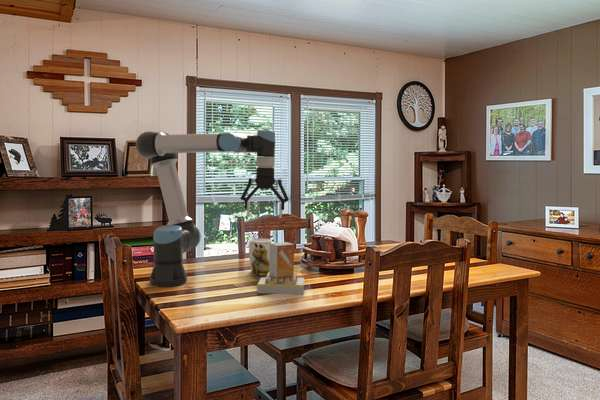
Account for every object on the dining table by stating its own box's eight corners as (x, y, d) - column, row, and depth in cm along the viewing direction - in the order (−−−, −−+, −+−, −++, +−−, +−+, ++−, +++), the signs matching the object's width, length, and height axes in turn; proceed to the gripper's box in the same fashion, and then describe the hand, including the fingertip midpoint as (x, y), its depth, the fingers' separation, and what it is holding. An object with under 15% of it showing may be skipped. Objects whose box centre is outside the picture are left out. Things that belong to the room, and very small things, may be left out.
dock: (257, 293, 194) (257, 284, 194) (260, 284, 208) (261, 275, 208) (303, 294, 194) (303, 285, 194) (304, 285, 208) (304, 276, 208)
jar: (245, 273, 229) (245, 240, 228) (252, 268, 239) (253, 237, 238) (267, 274, 226) (267, 242, 225) (274, 270, 236) (274, 238, 235)
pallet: (265, 285, 195) (265, 278, 195) (267, 277, 207) (268, 272, 207) (295, 285, 195) (295, 279, 195) (296, 278, 207) (296, 272, 207)
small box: (276, 278, 196) (277, 245, 195) (268, 275, 201) (269, 243, 200) (294, 276, 200) (294, 244, 199) (285, 273, 206) (286, 241, 205)
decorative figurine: (248, 275, 223) (248, 242, 222) (263, 273, 229) (263, 241, 228) (260, 280, 216) (261, 245, 215) (276, 277, 221) (276, 243, 220)
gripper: (234, 166, 206) (233, 217, 208) (294, 168, 205) (293, 219, 207) (237, 166, 214) (236, 215, 216) (295, 167, 213) (294, 217, 214)
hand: (264, 217), depth 211 cm, fingers open, 13 cm apart
